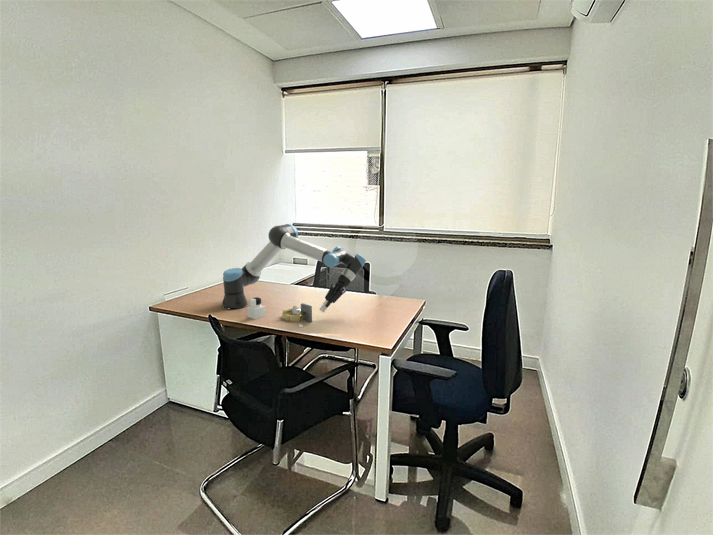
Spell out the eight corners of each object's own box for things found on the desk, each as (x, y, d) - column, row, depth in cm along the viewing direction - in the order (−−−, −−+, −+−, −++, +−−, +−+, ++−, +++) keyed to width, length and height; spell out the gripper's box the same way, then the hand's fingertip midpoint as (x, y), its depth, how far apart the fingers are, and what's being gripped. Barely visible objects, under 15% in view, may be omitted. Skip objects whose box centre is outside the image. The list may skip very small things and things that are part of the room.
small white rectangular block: (298, 327, 200) (298, 324, 200) (302, 326, 201) (302, 324, 200) (299, 329, 196) (299, 326, 196) (303, 329, 197) (303, 326, 197)
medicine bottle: (257, 315, 219) (256, 295, 217) (265, 318, 215) (264, 298, 212) (247, 318, 214) (246, 298, 211) (255, 321, 209) (253, 300, 207)
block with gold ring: (277, 317, 212) (276, 302, 210) (298, 311, 223) (298, 296, 221) (300, 325, 199) (299, 309, 197) (321, 318, 210) (321, 303, 208)
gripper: (356, 284, 212) (331, 317, 206) (343, 279, 222) (319, 311, 216) (348, 276, 208) (323, 310, 202) (336, 272, 218) (311, 304, 212)
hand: (321, 310), depth 209 cm, fingers closed
